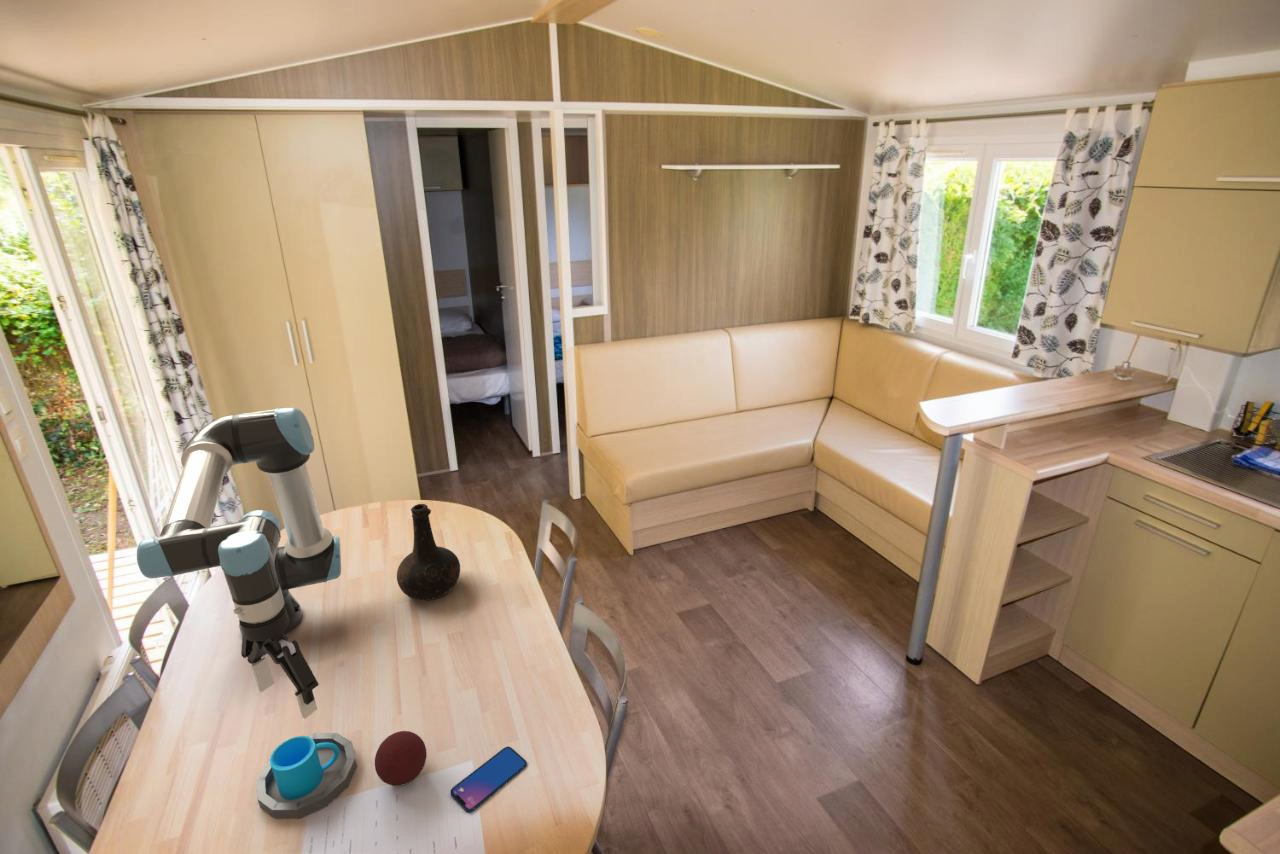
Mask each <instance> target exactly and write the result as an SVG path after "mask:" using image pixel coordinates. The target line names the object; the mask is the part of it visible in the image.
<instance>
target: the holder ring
mask: <svg viewBox="0 0 1280 854" xmlns="http://www.w3.org/2000/svg"><path fill="white" fill-rule="evenodd" d="M307 736H308V737H310V738H312V739H313V740H314V742H315V744H318V743H323V742H329V743H333V744H335V745H337V747H338V748H339V756H338V758H337V760H336V761H335V762H334V763H333V764H332V765H331V766H330V767H329V768H328V769H326V770H325V771H323V778H322V781H321V783H320V784H319V786H318V787H317V788H316V789H315V790H314V791H313V792H312V793H310V794H308V795H307V796H305V797H302V798H299V799H295V800H288V799H284V798H283V797H282V796H281V795H280V793H279V790H278V787H277V784H276V780H275V777H274V774H273V771H272V768H271V765H270V758H269V759H268V760H267V762H266V764H265V765H264V766H263V769H262V771H260V773H259V775H258V776H257V778H256V780H255V781H256V782H255V783H256V799H257V802H258V806H259V808H260V809H261V810H263V811H264V812H265V813H267V814H268V815H270V816H271V817H272V818H273V819H274V820H285V819H288V820H289V819H293V820H294V819H302V818H304V817H307V816H308V815H311V814H314V813H316V812H317V811H320V810H322V809H324V808H327V807H328V806H329V805H330V804H332V803H333V802H334V801H335V800H337V798H338V797H339V796H340V795H341V794H343V792H345V791H346V790H347V789H348V788H349V786H350V784H351V781H352V779H353V777H354V775H355V772H356V770H357V768H358V765H357V764H358V763H357V760H356V759H357V758H356V755H355V750H354V747H353V741H351V740H350V739H348V738H346V737H345V736H343V735H342V734H340V733H338V732H315V733H314V732H313V733H311V734H309V735H307ZM317 752H318V756H319V759H320V763H321V766H323V765H325V764H326V763H327V762H329V761H330V760H331V758H332V757H333V755H334V750H333V749H331V748H319V749H317Z"/></svg>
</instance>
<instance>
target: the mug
mask: <svg viewBox="0 0 1280 854" xmlns="http://www.w3.org/2000/svg"><path fill="white" fill-rule="evenodd" d="M308 736H309V735H298V736H297V735H296V736H294V737H289V738H288V739H287V740H285V741H283V742H281V743H280V744H279V745H277V747H276V748H274V750H273V751H272V753H271V755H270V757H269V759H270V765H271V768H272V771H273V774H274V777H275V780H276V784H277V787H278V790H279V793H280V795H281V796H282V797H283V798H284V799H288V800H295V799H299V798H302V797H305V796H307V795H308V794H310V793H312V792H313V791H314V790H315V789H316V788H317V787H318V786H319V784H320V783H321V781H322V778H323V771H325V770H326V769H328V768H329V767H330V766H331V765H332V764H333V763H334V762H335V761H336V760H337V758H338V756H339V748H338V747H337V745H335V744H333V743H329V742H323V743H318V744H315V742H314V740H313V739H312V738H310V737H308ZM319 748H331V749H333V750H334V755H333V757H332V758H331V760H330V761H329V762H327V763H326V764H325V765H323V766H321V763H320V759H319V756H318V752H317V749H319Z"/></svg>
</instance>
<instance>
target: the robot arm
mask: <svg viewBox="0 0 1280 854" xmlns="http://www.w3.org/2000/svg"><path fill="white" fill-rule="evenodd" d="M314 440H315V439H314V436H313V433H312V429H311V426H310V424H309V421H308V418H307V416H306V415H305V413H304V412H303V411H301V410H300V409H299V408H296V407H285V408H283V407H277V408H275V409H268V410H261V411H254V412H253V411H251V412H244V413H237V414H236V413H235V414H234V413H233V414H228V415H224V416H221V417H219V418H216V419H214V420H212V421H211V422H209V423H207V424H206V425H204V426H203V427H202V428H201V429H199V430H198V431H197V432H196V433H195V434H194V435H193V436H192V437H191V438H190V439H189V441H188V442H187V443H186V445H185V447H184V449H183V451H182V453H181V456H180V457H181V458H180V463H181V466H182V468H183V469H182V471H181V474H180V475H179V480H178V483H177V486H176V489H175V491H174V494H173V497H172V500H171V504H170V506H169V509H168V512H167V514H166V518H165V521H164V523H163V527H162V529H161V531H160V534H159V535H153V536H152V537H147V538H144V539H143V540H141V541H140V542H139V543H138V545H137V549H136V561H137V562H136V563H137V566H138V569H139V571H140V572H141V574H142V575H143V576H144V577H145V578H147V579H158V578H165V577H174V576H178V575H182V574H183V575H184V574H187V573H189V574H190V573H192V572H193V573H194V572H197V571H202V570H207V569H211V568H216V567H217V568H218V567H220V568H221V570H222V573H223V574H224V577H225V578H224V579H225V581H226V583H227V584H226V585H227V587H228V589H229V594H230V597H231V600H232V602H233V605H234V609H233V613H234V615H237V618H238V622H239V623H238V628H239V632H240V634H242V635H241V636H242V637H241V653H240V654H241V657H242V658H243V659H246V658H247V663H249V664H250V665H251V668H252V672H253V676H254V679H255V683H256V685H257V687H258V691H259V692H261V693H263V692H264V691H266V690H267V689H268V688H270V687H271V686H273V685H275V681H274V680H275V679H274V678H273V674H272V670H271V667H270V664H269V661H268V658H267V657H266V656H265V655H269V657H270V658H271V660H272V661H273V663H275V664H276V665H280V667H281V669H282V670H283V672H284V673H285V674H286V676H287V677H288V679H289V680H290V682H291V683H292V685H293V686H294V687H295V689H296V690H294V696H296V701H297V704H298V707H299V711H300V714H301V717H302V718H303V719H304V720H306V719H307V718H308V717H309V716H311V715H312V714H314V713H315V712H316V711H317V710H318V706H317V703H316V699H315V695H314V692H313V690H314V689H315V688H316V687H318V686H319V685H320V684H319V682H318V680H317V678H316V677H315V675H314V673H313V671H312V669H311V667H310V665H309V664H308V662H307V659H306V658H305V657H304V654H303V652H302V651H301V649H300V646H299V643H298V641H297V640H296V639H293V640H292V641H289V640H288V639H289V638H288V636H287V633H288V631H289V632H290V631H292V630H293V629H294V628H295V627H296V626H298V625H299V623H300V622H301V620H302V618H303V610H302V607H301V605H300V603H299V601H298V600H297V599H296V598H295V597H294V596H293V595H292V593H291V592H290V590H291V589H296V588H302V587H306V586H312V585H316V584H322V583H327V582H330V581H333V580H336V579H338V578H339V577H340V576H341V574H342V553H341V539H340V536H336V535H332V532H331V531H330V530H329V529H327V528H325V527H324V526H323V522H322V519H321V515H320V512H319V511H320V510H319V508H318V504H317V499H316V496H315V494H314V489H313V486H312V482H311V478H310V475H309V472H308V468H307V463H308V461H310V458H311V454H312V453H314V451H315V441H314ZM247 463H248V464H249V463H256V466H257V469H258V470H259V471H260V472H262V473H263V474H267V477H268V479H269V483H270V485H271V488H272V492H273V495H274V496H273V497H274V499H275V501H276V504H277V508H278V511H279V513H280V516H281V517H280V518H281V521H282V523H283V527H284V529H285V532H286V536H287V539H286V541H285V543H284V545H283V546H279V544H280V541H281V538H282V536H281V528H282V527H281V525H282V524H281V522H280V519H279V518H278V517H277V515H276V514H274V513H272V512H270V511H267V510H264V509H263V510H262V509H258V510H257V509H256V510H251V511H249V512H248V513H246V514H244V515H243V516H242V517H241V518H240V519H239V520H238V521H237V522H231V523H226V524H220V525H215V526H211V525H212V522H213V521H212V520H213V517H214V514H215V511H216V506H217V502H218V500H219V499H218V498H219V496H220V492H221V489H222V488H221V487H222V485H223V480H224V478H225V477H224V476H225V475H226V474H228V473H229V471H230V470H231V468H232V467H233V466H237V465H239V464H247ZM280 655H281V656H280ZM279 656H280V657H279Z"/></svg>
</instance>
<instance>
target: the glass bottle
mask: <svg viewBox="0 0 1280 854" xmlns="http://www.w3.org/2000/svg"><path fill="white" fill-rule="evenodd" d="M410 512H411V518H412V524H413V525H412V526H413V547H412V552H410V553H409V554H407V555H406V556H405V557H404V558H403V559H402V561H401V562H400V563H399V564H398V568H397V571H396V582H397V584H398V587H399V588H400V590H401V592H403V594H404V595H406V596H407V597H408V598H411V599H414V600H416V601H433V600H436V599H438V598H440V597H442V596H444V595H446V594H447V593H448V592H450V591H451V590H452V589H453V588H454V586H455V585H456V584H457V581H458V579H459V577H460V574H461V564H460V560H459V558H458V556H457V555H456V554H455V553H454V552H453V551H452V550H450V549H448V548H446V547H444V546H438V545H437V543H436V541H435V538H434V533H433V531H432V527H431V521H430V520H431V519H430V517H429V516H430V515H431V512H432V509H430V508H429V507H428V505H427V504H425V503H418V504H415V505H414V506H413V507H411V508H410Z"/></svg>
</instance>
